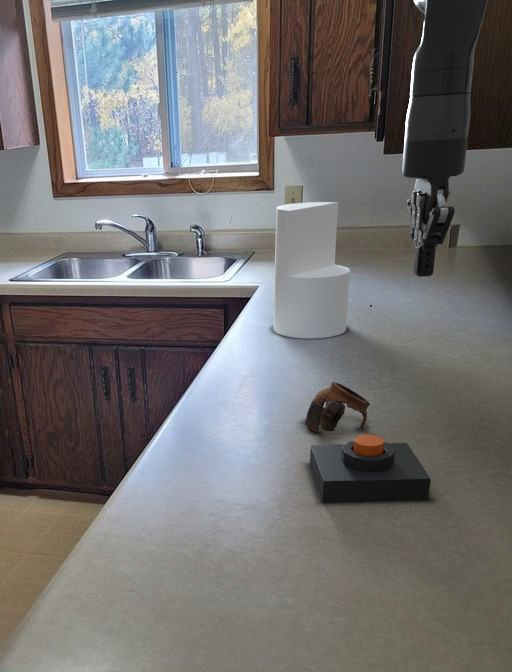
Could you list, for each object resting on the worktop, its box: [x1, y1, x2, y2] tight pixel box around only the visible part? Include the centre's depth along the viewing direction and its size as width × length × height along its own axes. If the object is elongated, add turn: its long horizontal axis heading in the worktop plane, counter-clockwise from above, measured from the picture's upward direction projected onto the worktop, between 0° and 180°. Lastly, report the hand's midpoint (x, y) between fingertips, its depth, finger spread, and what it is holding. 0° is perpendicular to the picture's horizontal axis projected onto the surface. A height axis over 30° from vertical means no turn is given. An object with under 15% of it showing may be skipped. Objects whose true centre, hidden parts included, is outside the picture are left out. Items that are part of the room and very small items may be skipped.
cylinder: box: [273, 201, 351, 339], centre depth 173 cm, size 17×17×28 cm
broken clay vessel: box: [304, 381, 371, 433], centre depth 121 cm, size 12×10×8 cm
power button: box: [353, 434, 385, 456], centre depth 102 cm, size 4×4×2 cm
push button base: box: [309, 440, 431, 503], centre depth 104 cm, size 14×12×5 cm
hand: (423, 275), depth 101 cm, fingers closed
